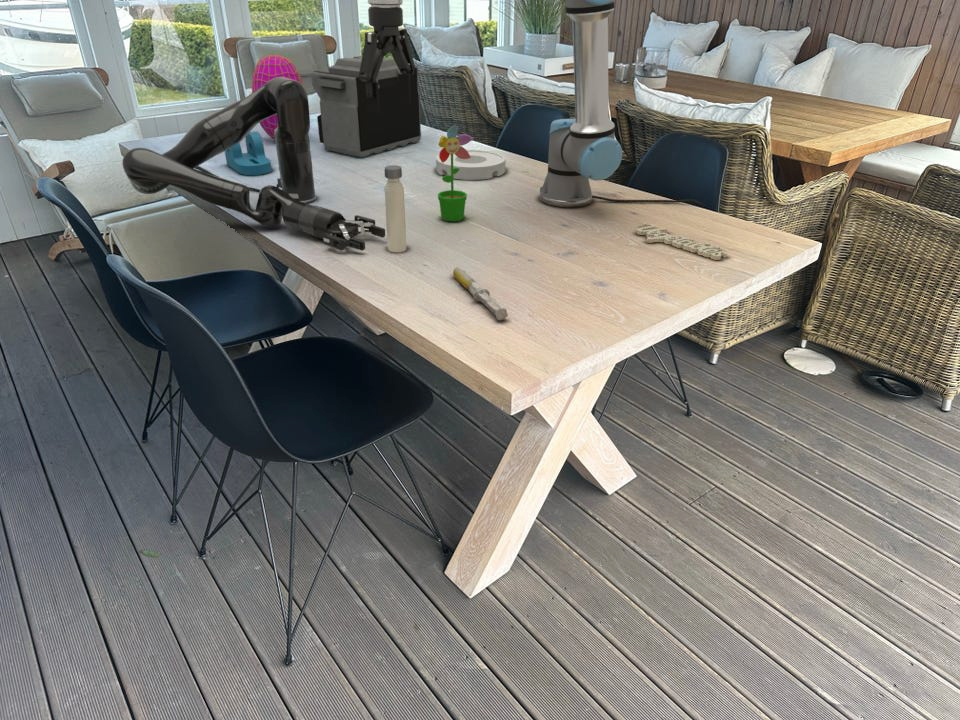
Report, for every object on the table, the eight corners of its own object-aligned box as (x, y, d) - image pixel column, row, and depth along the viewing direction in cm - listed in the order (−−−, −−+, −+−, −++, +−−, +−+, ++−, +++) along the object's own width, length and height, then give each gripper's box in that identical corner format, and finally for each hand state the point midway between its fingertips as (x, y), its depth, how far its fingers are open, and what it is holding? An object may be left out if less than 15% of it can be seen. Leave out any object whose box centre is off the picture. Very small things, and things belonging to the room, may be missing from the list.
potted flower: (443, 224, 183) (442, 128, 170) (432, 216, 189) (429, 122, 176) (475, 219, 187) (476, 124, 174) (462, 211, 193) (462, 119, 180)
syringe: (449, 274, 155) (449, 263, 153) (465, 272, 156) (464, 260, 154) (490, 323, 135) (491, 310, 133) (508, 319, 136) (508, 307, 134)
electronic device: (383, 133, 276) (378, 52, 261) (425, 141, 265) (422, 56, 250) (314, 150, 251) (304, 61, 235) (358, 160, 240) (350, 67, 224)
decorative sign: (622, 230, 178) (646, 222, 184) (622, 233, 179) (645, 225, 184) (711, 260, 161) (734, 250, 167) (711, 264, 162) (733, 253, 167)
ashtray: (439, 160, 240) (438, 148, 238) (505, 161, 240) (505, 150, 238) (433, 179, 220) (432, 166, 218) (505, 180, 220) (505, 168, 218)
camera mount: (227, 164, 233) (221, 132, 227) (257, 160, 238) (252, 129, 233) (244, 176, 220) (239, 143, 215) (276, 172, 225) (271, 139, 220)
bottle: (388, 252, 166) (383, 172, 156) (387, 246, 170) (382, 166, 160) (407, 252, 167) (403, 171, 157) (406, 245, 170) (402, 166, 160)
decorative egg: (293, 132, 276) (283, 50, 261) (319, 140, 264) (310, 56, 249) (249, 139, 265) (236, 54, 250) (273, 148, 253) (261, 60, 238)
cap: (385, 179, 157) (384, 169, 156) (384, 174, 161) (384, 165, 159) (402, 178, 158) (401, 169, 157) (401, 174, 161) (401, 164, 160)
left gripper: (339, 226, 180) (391, 242, 174) (304, 246, 170) (357, 265, 164) (338, 199, 176) (390, 215, 170) (301, 218, 165) (356, 236, 160)
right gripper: (400, 3, 161) (403, 98, 172) (337, 7, 142) (345, 115, 152) (428, 4, 158) (429, 101, 169) (367, 9, 139) (373, 118, 150)
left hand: (374, 239), depth 167 cm, fingers open, 8 cm apart
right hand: (389, 108), depth 161 cm, fingers open, 13 cm apart
